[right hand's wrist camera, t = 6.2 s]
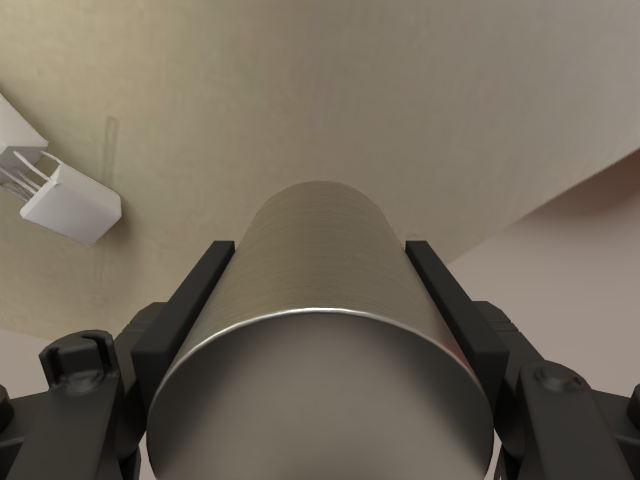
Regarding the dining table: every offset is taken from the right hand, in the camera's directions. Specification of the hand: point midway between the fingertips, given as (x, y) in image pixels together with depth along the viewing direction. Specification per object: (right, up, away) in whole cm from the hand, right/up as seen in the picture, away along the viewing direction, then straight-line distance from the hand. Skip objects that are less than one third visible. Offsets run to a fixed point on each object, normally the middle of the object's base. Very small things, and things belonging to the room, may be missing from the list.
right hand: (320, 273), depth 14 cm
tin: (0, +1, +2) cm, 2 cm away
